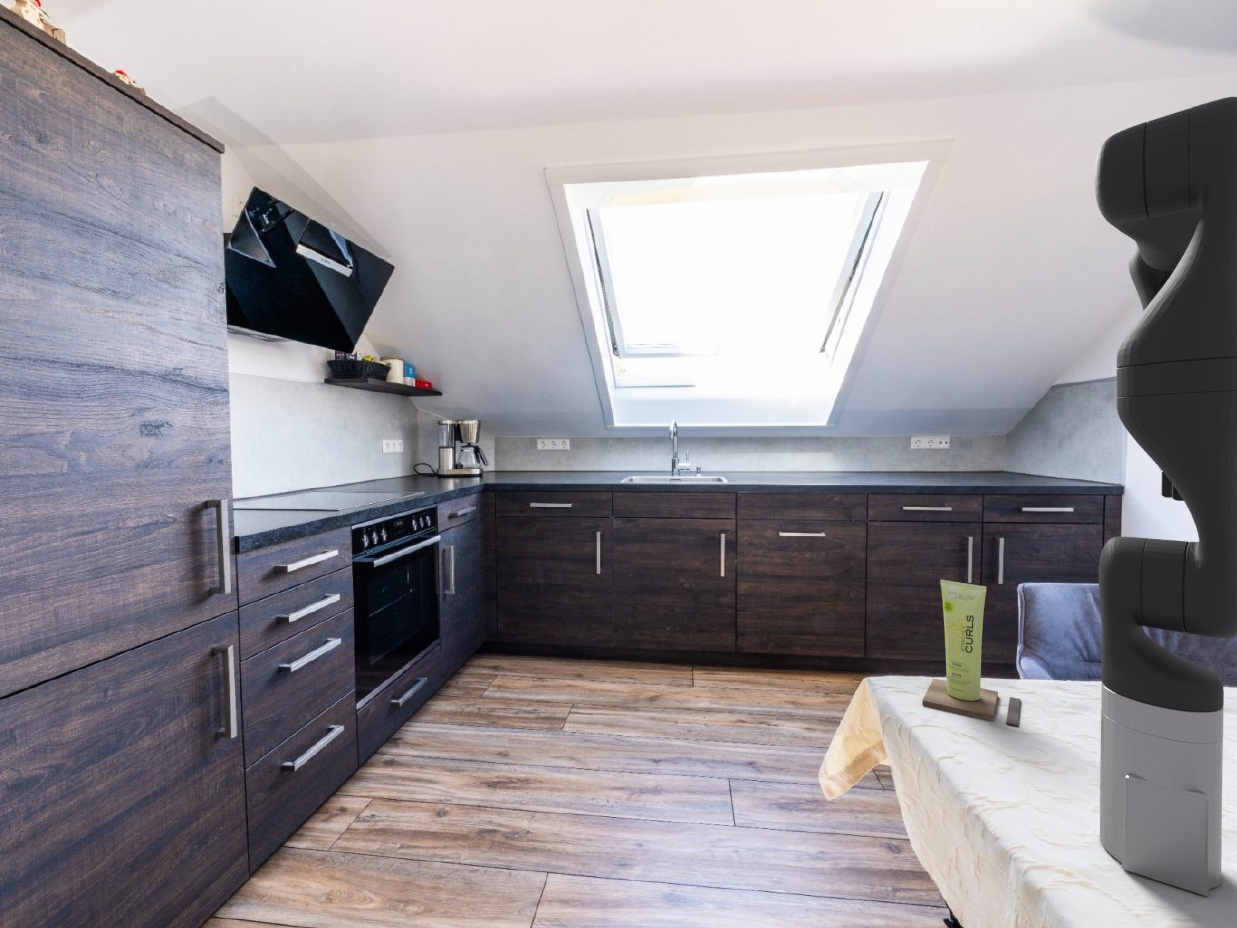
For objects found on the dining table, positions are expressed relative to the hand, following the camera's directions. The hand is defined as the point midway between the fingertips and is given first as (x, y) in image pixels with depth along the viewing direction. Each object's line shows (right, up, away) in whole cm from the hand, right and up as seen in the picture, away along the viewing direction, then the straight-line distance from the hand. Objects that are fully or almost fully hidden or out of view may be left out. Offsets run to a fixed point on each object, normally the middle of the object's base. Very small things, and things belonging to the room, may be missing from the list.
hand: (1177, 499), depth 79 cm
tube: (-18, -35, +20) cm, 44 cm away
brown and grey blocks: (-17, -36, +19) cm, 44 cm away
